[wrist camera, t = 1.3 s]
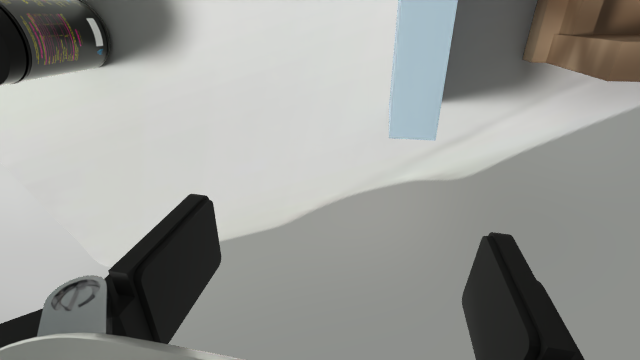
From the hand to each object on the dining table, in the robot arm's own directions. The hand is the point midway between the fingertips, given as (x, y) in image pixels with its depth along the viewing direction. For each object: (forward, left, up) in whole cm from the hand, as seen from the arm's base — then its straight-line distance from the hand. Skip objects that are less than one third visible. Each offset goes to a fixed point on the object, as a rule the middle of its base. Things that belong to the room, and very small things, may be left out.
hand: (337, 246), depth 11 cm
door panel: (-6, +3, -22) cm, 23 cm away
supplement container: (-6, -30, -22) cm, 38 cm away
